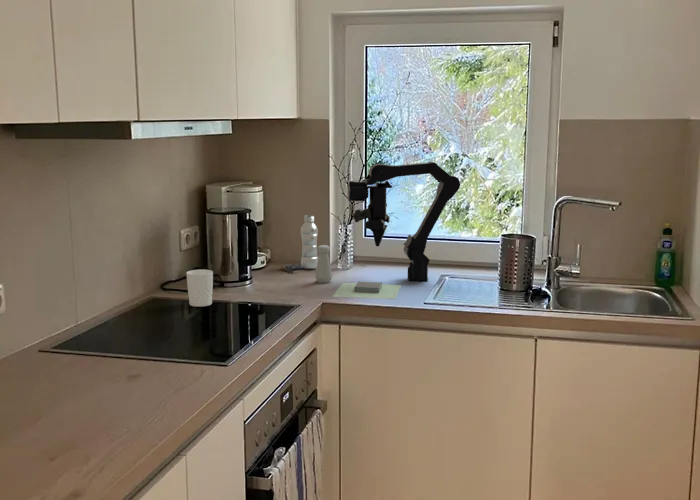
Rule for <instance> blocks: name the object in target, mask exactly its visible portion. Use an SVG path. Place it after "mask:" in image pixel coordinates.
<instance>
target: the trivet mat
mask: <svg viewBox="0 0 700 500" xmlns="http://www.w3.org/2000/svg"><path fill="white" fill-rule="evenodd" d="M356 284H357V282H356V283H352V282H343V283H341V285H340V286H339V288H338V289H337V290H336V291H335V292H334V293H333V295H332V296H331V297H334V298H335V297H337V298H357V299H382V300H383V299H385V300H396V299H397V296H398V294H399V292H400V290H401V287H402V285H401V284H382V288H381V290H380V292H379V293H370V292H355V286H356Z"/></svg>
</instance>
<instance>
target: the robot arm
mask: <svg viewBox="0 0 700 500" xmlns="http://www.w3.org/2000/svg"><path fill="white" fill-rule="evenodd" d="M418 175H430V176H432V177H433V179H435V181H436V182H438V185H437V189H436V193H435V198H434V199H433V201H432V203H431V205H430V207H429V208H428V211H427V212H426V214H425V216H424V218H423V219H422V220H421V223H420V225H419V227H418V229H417V231H416V232H415V233H414V234H413V235H411V234H408V235H407V238H406V241H405V242H404V243H403V245H404V246H403V252H404V253H403V254H404V255H405V256H406V257H407V258H408V259H409V261H410V262H409V265H408V267H407V280H408V282H413V283H415V282H419V283H420V282H421V283H427V282H429V281H428V280H429V263H430V258H428V256H427V255H425V249H426V247H427V243H428V242H427V241H428V238H429V236H430V235H431V232H432V231H433V229H434V226H435V225H436V223H437V221H438V219H439V217H440V216H441V214H442V212H443V210H444V208H445V207H446V204H447V203H448V202H449V201H450V200H451V199H452V198H453V197H454V196H455V195H456V193H457V192H458V191H459V190H460V189H461V188H460V187H461V181H460V180H459V179H460V178H458V177H457V176H455V175H451V174H449V172H447V171H446V170H444V169H443V168H442V167H441V166H439V164H437V163H436V162H434V161H427V162H421V163H420V162H419V163H410V164H408V163H407V164H399V165H394V164H393V165H391V164H385V163H374V164H372V165H371V166H370V168H369V169H368V174H367V176H366V177H365V178H364V179H363V181H354V180H353V181H351V180H350V181H348V187H347V188H348V189H347V201H348V202H365V201H366V200H367V199H369V204H368V205H367V208H364V209H360V208H359V209H355V210H354V212H353V213H352V218H353V220H354V222H355V223H358V222H360V221H363V220H366V219H367V221H366V222H365V223H364V229H366V230H370V231H371V232H372V235H373V240H374V244H375V247H380V245H381V243H382V239H383V237H384V235H385V233H386V230H387V227H388V224H389V223H390V219H391V218H390V217H391V216H390V215H388V214H387V208H388V203H387V189H392V188H393V185H391V183H390V182H389V180H391V179H395V178H398V177H407V176H408V177H409V176H418ZM386 223H387V224H386Z"/></svg>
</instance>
